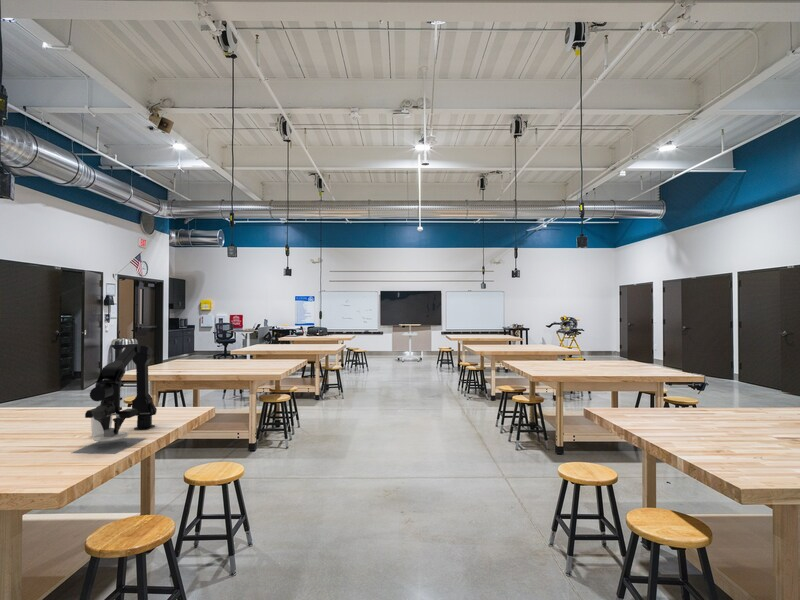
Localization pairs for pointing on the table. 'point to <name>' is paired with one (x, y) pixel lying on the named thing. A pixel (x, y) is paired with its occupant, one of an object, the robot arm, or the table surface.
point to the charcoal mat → (110, 446)
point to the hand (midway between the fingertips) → (111, 433)
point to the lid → (110, 435)
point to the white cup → (98, 427)
